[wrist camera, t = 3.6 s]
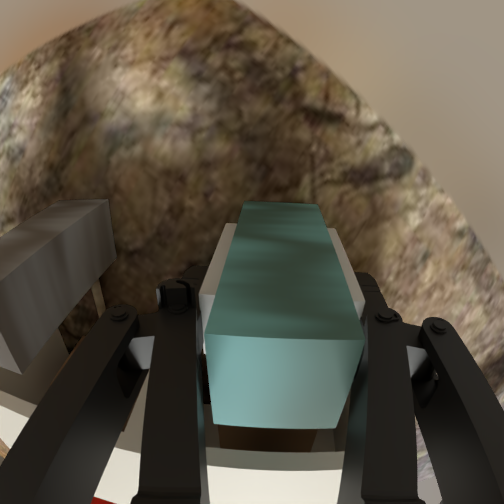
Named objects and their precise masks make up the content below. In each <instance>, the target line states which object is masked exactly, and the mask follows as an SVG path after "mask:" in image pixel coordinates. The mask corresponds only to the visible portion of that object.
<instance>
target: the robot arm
mask: <svg viewBox="0 0 504 504" xmlns="http://www.w3.org/2000/svg"><path fill="white" fill-rule="evenodd" d="M236 226H237V223H226V225H225V227H224V230H223V232H222V235H221V237H220V240H219V242H218V245H217V247H216V250H215V253H214V255H213V258H212V260H211V263H210V265H209V266H192V267H190V268H189V269H187V270H186V271H185V273H184V275H183V277H182V279H180V278H175V279H168V280H166V281H163V282H161V283H160V284H159V285H158V286H157V288H156V294H157V300H158V306H159V312H156V313H151V314H143V315H138V314H137V311H136V309H135V308H134V307H133V306H130V305H115V306H112V307H110V308H108V309H107V310H106V311H105V312H104V313H103V314H102V315H101V316H100V318H99V319H98V320H97V322H96V323H95V324H94V326H93V327H92V328H91V330H90V331H89V332H88V334H87V335H86V336H85V338H84V339H83V341H82V342H81V343H80V345H79V346H78V347H77V349H76V350H75V352H74V353H73V354H72V356H71V357H70V359H69V360H68V361H67V363H66V364H65V366H64V367H63V368H62V370H61V371H60V373H59V374H58V376H57V377H56V379H55V380H54V381H53V383H52V384H51V386H50V387H49V389H48V390H47V392H46V393H45V395H44V396H43V398H42V399H41V401H40V402H39V404H38V405H37V407H36V409H35V410H34V412H33V413H32V415H31V416H30V418H29V419H28V421H27V423H26V424H25V426H24V427H23V429H22V431H21V432H20V434H19V435H18V437H17V439H16V440H15V442H14V444H13V445H12V447H11V449H10V450H9V452H8V454H7V456H6V457H5V459H4V461H3V463H2V464H1V466H0V504H91V502H92V499H93V497H94V494H95V492H96V489H97V487H98V485H99V482H100V480H101V477H102V475H103V473H104V470H105V468H106V466H107V463H108V461H109V458H110V456H111V454H112V452H113V449H114V447H115V445H116V442H117V440H118V438H119V436H120V433H121V431H122V429H123V426H124V424H125V422H126V420H127V418H128V415H129V413H130V411H131V409H132V406H133V404H134V402H135V400H136V398H137V396H138V393H139V391H140V389H141V387H142V385H143V383H144V380H145V378H146V376H147V374H148V372H149V378H148V386H147V394H146V403H145V412H144V422H143V432H142V443H141V455H140V469H139V486H138V492H137V494H136V495H135V496H133V497H132V500H131V503H130V504H210V498H209V486H208V473H207V459H206V444H205V427H204V408H203V384H202V359H201V350H202V347H203V349H204V354H206V350H205V339H204V332H205V328H206V325H207V322H208V318H209V315H210V311H211V308H212V305H213V301H214V298H215V295H216V291H217V288H218V285H219V281H220V278H221V275H222V271H223V268H224V265H225V262H226V258H227V255H228V252H229V248H230V245H231V242H232V239H233V236H234V232H235V229H236ZM327 229H328V232H329V235H330V237H331V240H332V243H333V245H334V248H335V251H336V254H337V256H338V259H339V262H340V265H341V267H342V270H343V273H344V276H345V279H346V282H347V284H348V287H349V290H350V293H351V296H352V299H353V302H354V305H355V308H356V311H357V314H358V317H359V320H360V324H361V327H362V330H363V333H364V336H365V339H366V340H365V344H364V347H363V350H362V354H361V357H360V360H359V363H358V366H357V370H356V373H355V376H354V379H353V382H352V385H351V394H350V406H349V417H348V427H347V436H346V445H345V453H344V461H343V468H342V475H341V482H340V488H339V494H338V500H337V504H426V503H425V501H423V500H421V499H419V497H418V493H417V445H416V428H415V416H416V419H417V421H418V424H419V427H420V430H421V433H422V436H423V439H424V442H425V445H426V448H427V451H428V454H429V457H430V460H431V463H432V466H433V469H434V473H435V476H436V479H437V482H438V485H439V489H440V493H441V496H442V500H443V503H444V504H504V411H503V409H502V407H501V405H500V403H499V401H498V400H497V398H496V396H495V394H494V392H493V391H492V389H491V387H490V385H489V384H488V382H487V380H486V378H485V377H484V375H483V373H482V372H481V370H480V368H479V367H478V365H477V363H476V362H475V360H474V359H473V357H472V355H471V354H470V352H469V351H468V349H467V347H466V346H465V344H464V343H463V341H462V340H461V338H460V337H459V335H458V333H457V332H456V330H455V329H454V327H453V326H452V325H451V324H450V323H449V322H447V321H446V320H444V319H442V318H438V317H429V318H426V319H425V320H424V321H423V323H422V326H416V325H411V324H407V323H404V322H402V318H401V316H400V314H399V313H397V312H396V311H395V310H393V309H391V308H388V306H387V304H386V302H385V300H384V298H383V295H382V293H381V292H380V289H379V287H378V285H377V283H376V281H375V279H374V278H373V277H372V276H371V275H369V274H368V273H359V272H354V271H353V269H352V266H351V264H350V262H349V259H348V257H347V254H346V252H345V250H344V247H343V245H342V243H341V240H340V238H339V236H338V234H337V231H336V229H335V228H327ZM149 368H150V371H149ZM436 373H437V374H436ZM437 375H438V376H437ZM414 413H415V414H414Z"/></svg>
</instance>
